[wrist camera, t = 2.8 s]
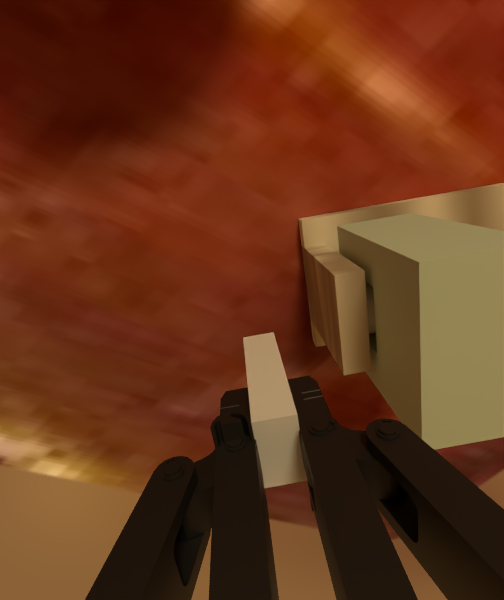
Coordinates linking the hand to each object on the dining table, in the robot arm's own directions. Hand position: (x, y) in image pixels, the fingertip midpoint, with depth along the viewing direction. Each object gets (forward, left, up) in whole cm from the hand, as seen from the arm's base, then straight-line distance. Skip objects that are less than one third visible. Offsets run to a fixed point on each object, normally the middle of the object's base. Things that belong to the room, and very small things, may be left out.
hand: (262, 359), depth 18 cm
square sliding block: (+9, 0, -8) cm, 12 cm away
